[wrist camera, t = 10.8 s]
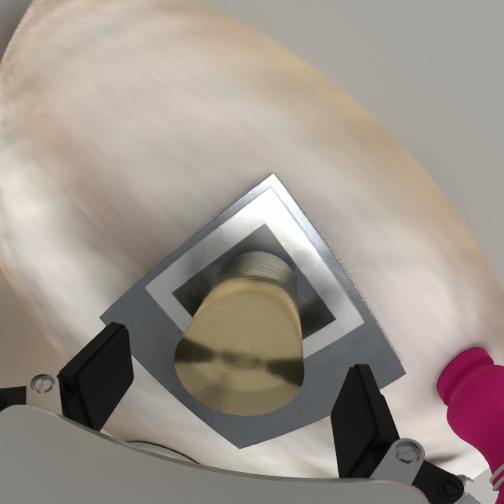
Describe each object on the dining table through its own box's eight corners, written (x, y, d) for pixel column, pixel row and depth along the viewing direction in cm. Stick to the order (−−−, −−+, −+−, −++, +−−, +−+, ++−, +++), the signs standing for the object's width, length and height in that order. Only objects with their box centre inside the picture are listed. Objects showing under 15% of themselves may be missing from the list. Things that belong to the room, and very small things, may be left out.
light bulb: (250, 336, 19) (230, 427, 11) (201, 280, 18) (149, 354, 10) (312, 298, 17) (328, 385, 10) (265, 234, 17) (248, 291, 9)
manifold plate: (241, 438, 24) (236, 468, 20) (108, 309, 21) (82, 332, 17) (400, 362, 20) (415, 393, 16) (274, 173, 17) (271, 174, 13)
